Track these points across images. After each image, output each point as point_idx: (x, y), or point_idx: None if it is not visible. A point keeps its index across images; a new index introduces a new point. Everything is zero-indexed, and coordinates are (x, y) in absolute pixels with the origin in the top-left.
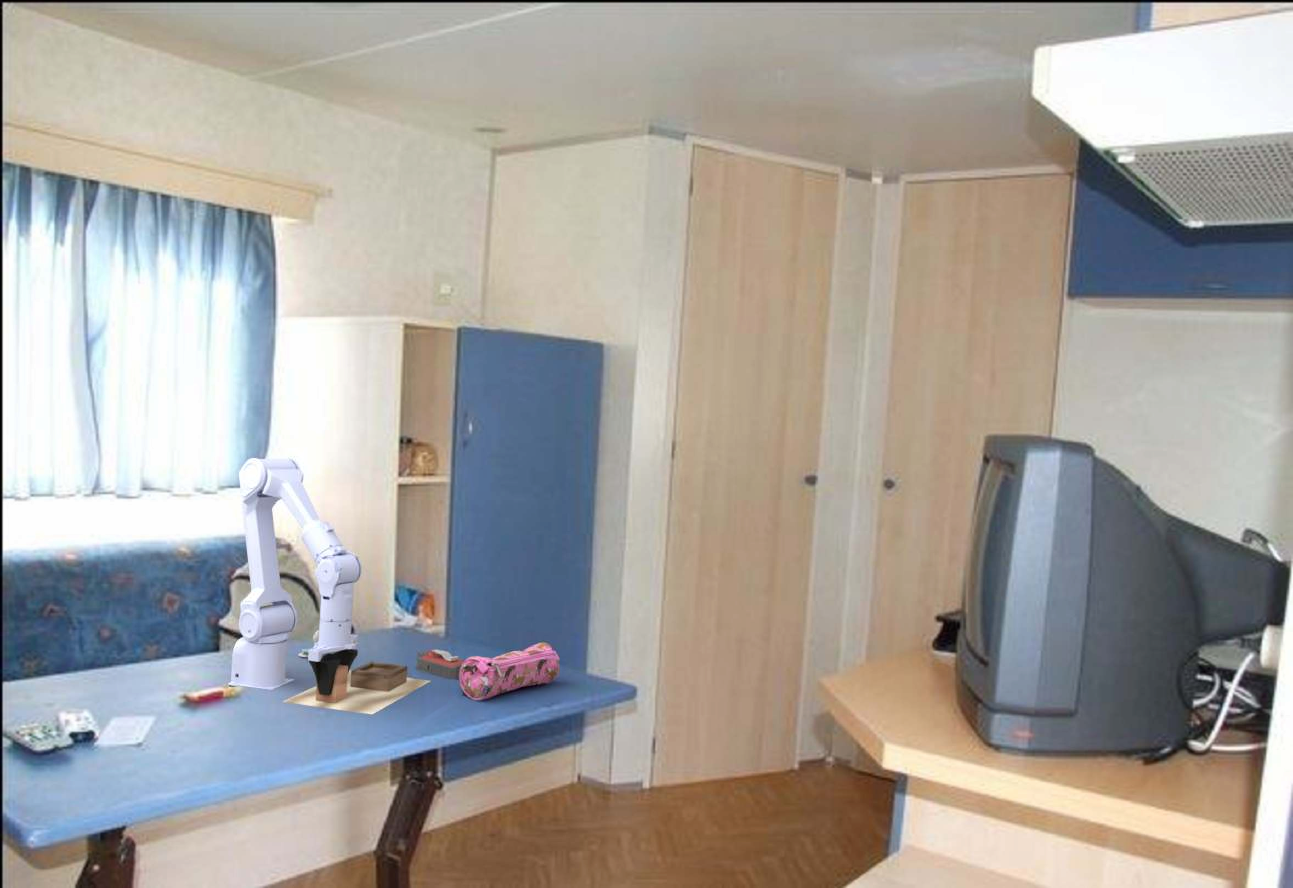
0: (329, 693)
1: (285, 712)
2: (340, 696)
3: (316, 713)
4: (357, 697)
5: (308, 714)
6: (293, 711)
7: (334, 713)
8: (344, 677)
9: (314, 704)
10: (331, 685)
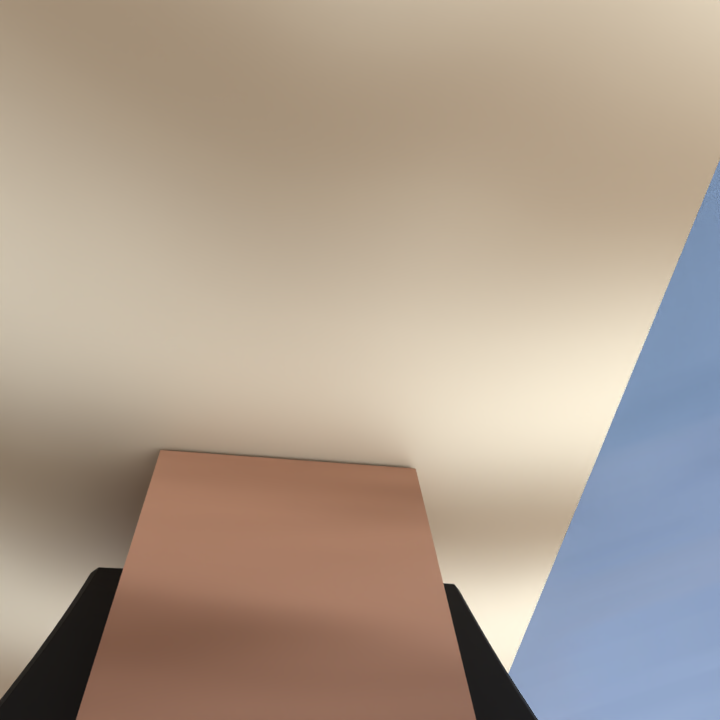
0: (462, 600)
1: (644, 672)
2: (302, 491)
3: (655, 498)
4: (76, 341)
5: (689, 538)
6: (613, 645)
7: (644, 363)
8: (201, 704)
9: (493, 596)
10: (511, 684)
